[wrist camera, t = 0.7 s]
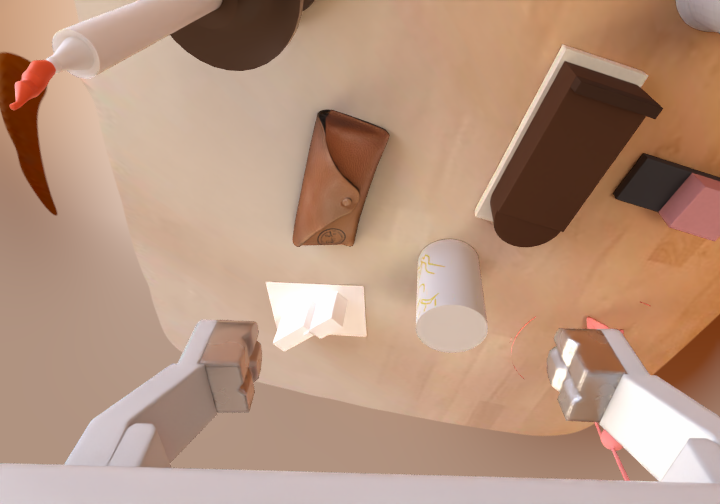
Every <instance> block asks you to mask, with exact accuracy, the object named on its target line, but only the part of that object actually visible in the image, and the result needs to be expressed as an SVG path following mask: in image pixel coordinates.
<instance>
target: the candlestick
mask: <svg viewBox="0 0 720 504" xmlns="http://www.w3.org/2000/svg"><path fill="white" fill-rule="evenodd" d="M313 2H314V0H139V1H136V2H134V3H131V4H128V5H126V6H123V7H120V8H118V9H115V10H112V11H110V12H107V13H104V14H102V15H99V16H96V17H94V18H91V19H88V20H86V21H83V22H80V23H78V24H75V25H73V26H70V27H67V28H65V29H62V30H60V31H58V32H57V33H56V34H55V35H54V37H53V40H52V48H53V52H54V54H53V55H52V56H50V57H48V58H47V59H46V60H37V61H32V62H31V63H30V65H29V67H28V69H27V70H26V71H25V72H24V73H23V74H22V81H18V82H16V83H15V96H16V102H14V103H12V104H11V105H10V108H11V109H12V110H16V109H18V108H20V107H21V106H22V105H24V104H25V103H26V102H27V101H28V100H30V99H32V98H35V97H37V96H38V95H39V94H40V93H41V92H42V91H43V90H44V89H45V88H46V86H47V84H48V82H49V80H50V79H51V78H52V76H53V75H54V74H55V73H60V72H62V71H68V72H69V73H71V74H72V75H74V76H76V77H78V78H83V79H89V78H92V77H94V76H96V75H98V74H100V73H101V72H103V71H105V70H107V69H109V68H110V67H112V66H114V65H116V64H118V63H119V62H121V61H123V60H125V59H127V58H129V57H130V56H132V55H134V54H136V53H138V52H139V51H141V50H143V49H145V48H147V47H148V46H150V45H152V44H154V43H156V42H157V41H159V40H161V39H163V38H165V37H166V36H168V35H171V36H172V38H173V39H174V40H175V41H176V42H177V43H178V44H179V45H180V46H181V47H182V48H184V49H185V50H186V51H187V52H188V53H190V54H191V55H193V56H194V57H196V58H197V59H199V60H200V61H202V62H205V63H207V64H209V65H211V66H214V67H217V68H221V69H225V70H235V71H244V70H249V69H255V68H257V67H260V66H262V65H264V64H267V63H268V62H270V61H271V60H272V59H274V58H275V57H277V56H278V55H279V54H280V53H281V52H282V51H283V49H284V48H285V47H286V46H287V45H288V43H289V42H290V41H291V39H292V38H293V36H294V34H295V32H296V30H297V28H298V25H299V22H300V19H301V15H302V12H303V11H304V10H305V9H307V8H308V7H309V6H310V5H311V4H312V3H313Z"/></svg>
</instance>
